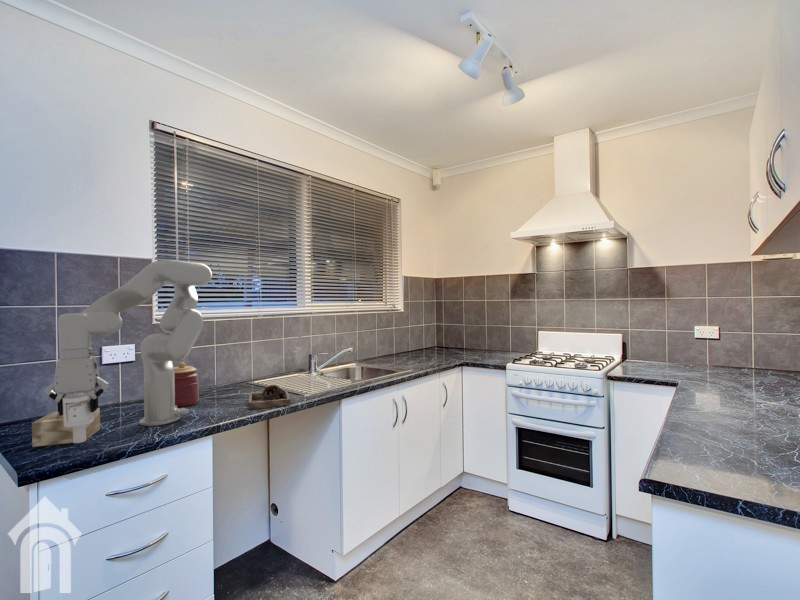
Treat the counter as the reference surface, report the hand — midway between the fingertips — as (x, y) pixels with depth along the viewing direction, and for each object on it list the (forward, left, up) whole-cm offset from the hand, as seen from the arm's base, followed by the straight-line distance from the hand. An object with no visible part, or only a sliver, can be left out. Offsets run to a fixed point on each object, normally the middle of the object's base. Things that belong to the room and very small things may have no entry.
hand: (78, 412), depth 121 cm
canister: (-21, -45, -10) cm, 51 cm away
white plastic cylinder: (0, 0, -9) cm, 9 cm away
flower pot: (+11, -36, -10) cm, 40 cm away
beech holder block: (+6, -10, -10) cm, 16 cm away
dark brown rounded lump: (-57, -33, -10) cm, 67 cm away
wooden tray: (-56, -33, -10) cm, 66 cm away
